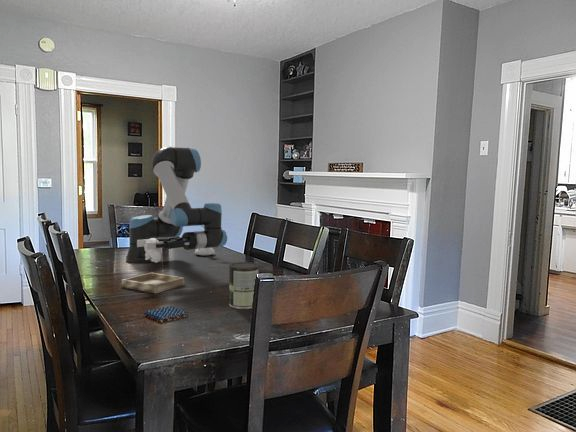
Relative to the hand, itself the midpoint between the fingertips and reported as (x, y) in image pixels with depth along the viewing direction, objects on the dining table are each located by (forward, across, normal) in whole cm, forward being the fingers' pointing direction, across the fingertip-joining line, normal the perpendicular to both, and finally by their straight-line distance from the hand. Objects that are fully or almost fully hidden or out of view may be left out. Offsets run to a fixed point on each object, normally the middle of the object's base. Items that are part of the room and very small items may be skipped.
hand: (142, 244), depth 170 cm
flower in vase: (-59, +49, -17) cm, 79 cm away
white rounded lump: (-4, -2, -7) cm, 8 cm away
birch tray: (-5, 0, -17) cm, 18 cm away
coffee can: (-17, -43, -17) cm, 50 cm away
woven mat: (+9, -38, -18) cm, 43 cm away
